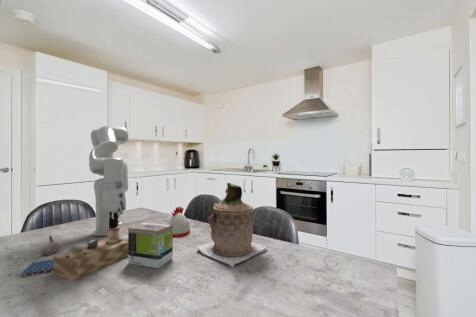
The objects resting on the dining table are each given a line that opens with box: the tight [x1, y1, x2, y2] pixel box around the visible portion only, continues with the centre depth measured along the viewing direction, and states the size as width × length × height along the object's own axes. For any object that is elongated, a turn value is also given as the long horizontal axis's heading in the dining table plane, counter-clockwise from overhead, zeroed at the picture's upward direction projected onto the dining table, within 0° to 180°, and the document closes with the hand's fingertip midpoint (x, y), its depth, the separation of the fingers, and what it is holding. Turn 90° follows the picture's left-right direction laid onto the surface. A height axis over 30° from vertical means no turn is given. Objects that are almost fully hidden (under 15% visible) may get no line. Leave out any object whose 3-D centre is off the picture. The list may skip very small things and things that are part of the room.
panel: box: [53, 237, 128, 281], centre depth 90 cm, size 24×12×6 cm, turn 154°
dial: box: [86, 239, 99, 249], centre depth 91 cm, size 4×4×3 cm
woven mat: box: [19, 258, 54, 278], centre depth 86 cm, size 10×11×2 cm
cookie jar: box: [195, 182, 268, 268], centre depth 102 cm, size 25×25×32 cm
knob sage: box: [67, 244, 85, 260], centre depth 84 cm, size 5×5×8 cm
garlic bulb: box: [40, 235, 61, 256], centre depth 100 cm, size 8×7×8 cm
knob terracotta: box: [107, 226, 121, 245], centre depth 97 cm, size 5×5×8 cm
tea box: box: [127, 221, 174, 269], centre depth 92 cm, size 15×10×15 cm
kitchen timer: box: [166, 206, 191, 238], centre depth 127 cm, size 14×14×15 cm
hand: (113, 227), depth 97 cm, fingers closed
